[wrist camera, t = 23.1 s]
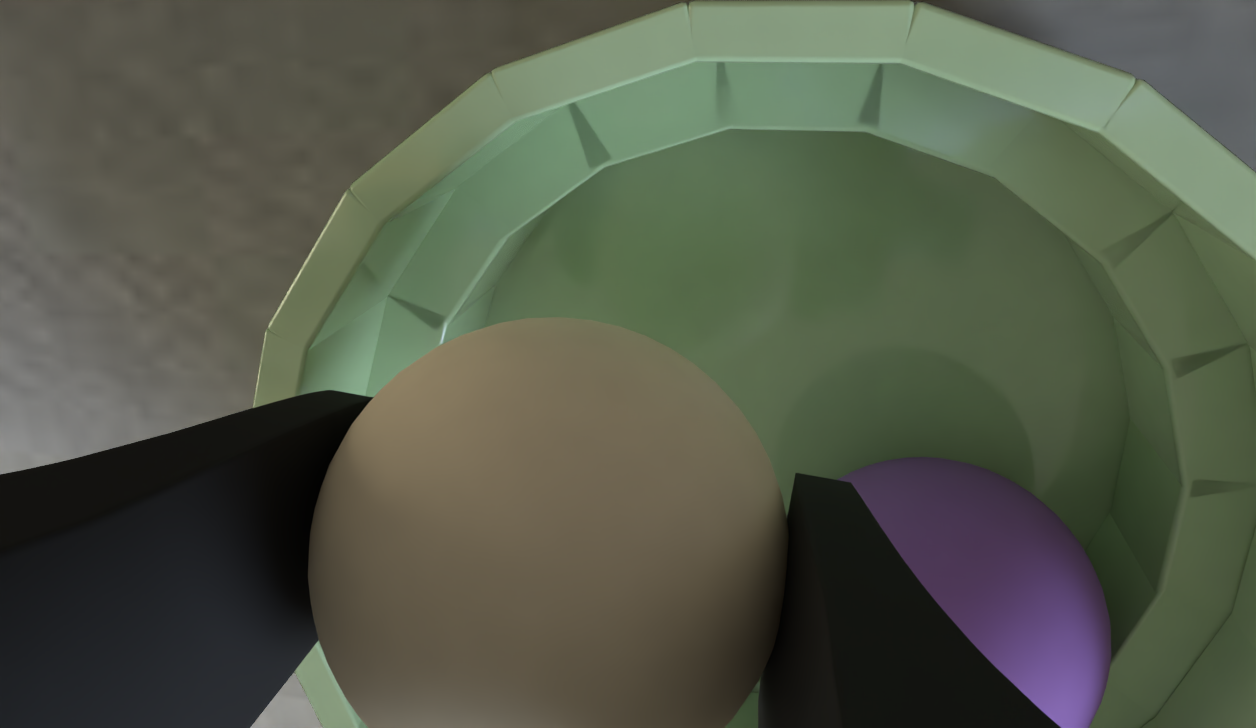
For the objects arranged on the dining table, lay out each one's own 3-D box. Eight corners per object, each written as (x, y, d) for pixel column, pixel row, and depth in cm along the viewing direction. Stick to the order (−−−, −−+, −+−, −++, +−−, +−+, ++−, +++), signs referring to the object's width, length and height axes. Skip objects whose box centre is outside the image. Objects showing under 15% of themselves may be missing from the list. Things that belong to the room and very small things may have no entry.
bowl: (708, -207, 13) (644, -333, 8) (1428, 380, 14) (1754, 581, 9) (287, 455, 19) (98, 616, 14) (827, 846, 20) (830, 1128, 15)
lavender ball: (887, 346, 15) (958, 514, 10) (1110, 512, 16) (1266, 735, 11) (699, 545, 17) (690, 762, 12) (908, 685, 18) (971, 936, 13)
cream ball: (554, 180, 11) (369, 305, 6) (879, 430, 11) (921, 714, 7) (360, 463, 13) (114, 711, 8) (643, 668, 13) (553, 1013, 9)
